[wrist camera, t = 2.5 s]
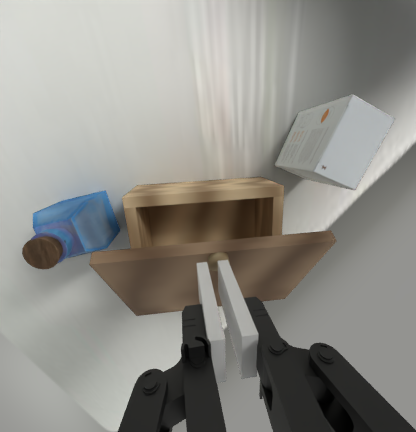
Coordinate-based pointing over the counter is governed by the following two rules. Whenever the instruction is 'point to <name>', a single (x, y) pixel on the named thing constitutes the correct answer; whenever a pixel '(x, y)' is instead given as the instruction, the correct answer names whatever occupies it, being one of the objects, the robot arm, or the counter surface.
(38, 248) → the perfume bottle
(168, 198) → the box
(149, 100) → the counter surface
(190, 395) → the robot arm
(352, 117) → the small box
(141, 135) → the counter surface
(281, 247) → the lid
